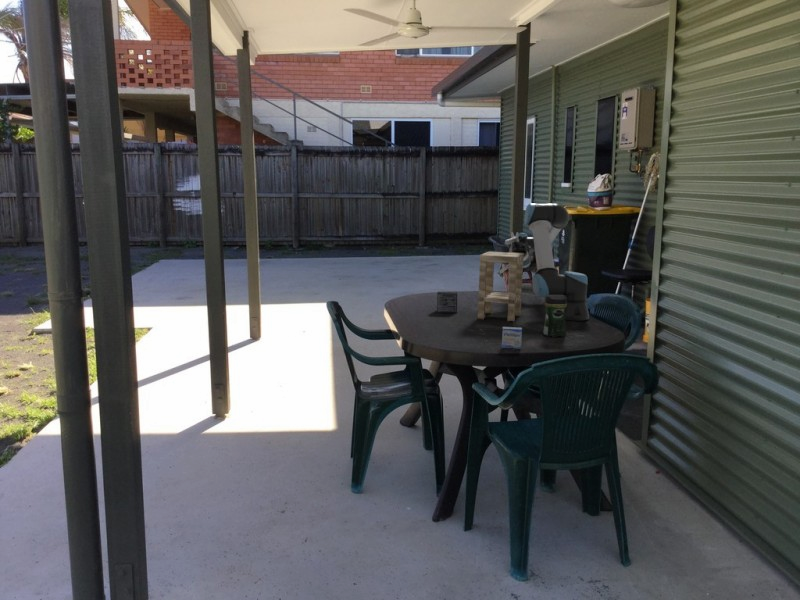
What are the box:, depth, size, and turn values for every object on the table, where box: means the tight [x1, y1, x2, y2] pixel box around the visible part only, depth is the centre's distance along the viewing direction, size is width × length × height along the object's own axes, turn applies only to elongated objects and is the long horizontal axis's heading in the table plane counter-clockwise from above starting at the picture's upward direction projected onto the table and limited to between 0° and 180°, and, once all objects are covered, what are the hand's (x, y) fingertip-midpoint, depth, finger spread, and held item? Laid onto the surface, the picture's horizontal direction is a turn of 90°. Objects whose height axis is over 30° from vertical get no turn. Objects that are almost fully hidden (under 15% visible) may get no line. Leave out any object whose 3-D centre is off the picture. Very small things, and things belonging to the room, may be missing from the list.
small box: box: [436, 291, 458, 314], centre depth 348 cm, size 11×6×10 cm, turn 84°
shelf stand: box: [477, 251, 524, 323], centre depth 335 cm, size 18×18×32 cm
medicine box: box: [501, 326, 523, 350], centre depth 276 cm, size 8×4×9 cm, turn 81°
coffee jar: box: [542, 295, 567, 338], centre depth 298 cm, size 10×8×19 cm
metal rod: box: [504, 235, 517, 246], centre depth 352 cm, size 26×2×2 cm, turn 159°
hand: (514, 234), depth 356 cm, fingers closed on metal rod, 2 cm apart
